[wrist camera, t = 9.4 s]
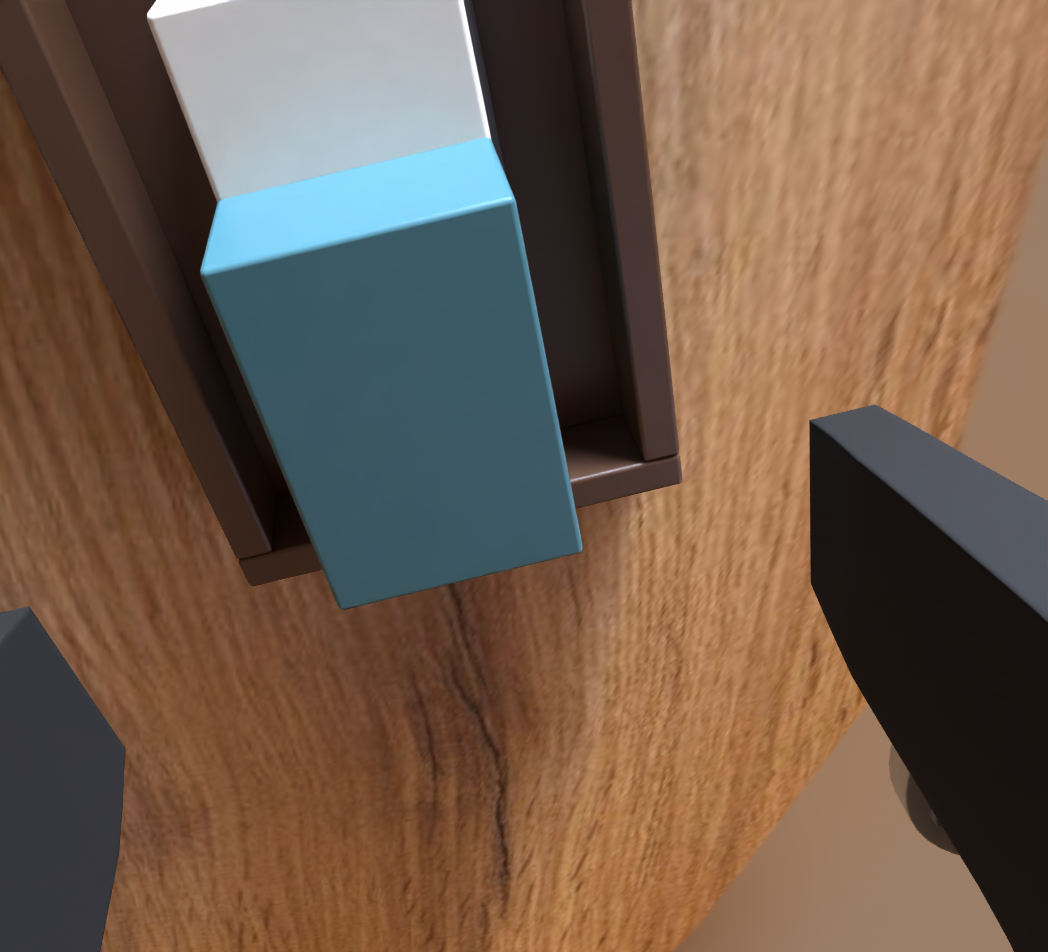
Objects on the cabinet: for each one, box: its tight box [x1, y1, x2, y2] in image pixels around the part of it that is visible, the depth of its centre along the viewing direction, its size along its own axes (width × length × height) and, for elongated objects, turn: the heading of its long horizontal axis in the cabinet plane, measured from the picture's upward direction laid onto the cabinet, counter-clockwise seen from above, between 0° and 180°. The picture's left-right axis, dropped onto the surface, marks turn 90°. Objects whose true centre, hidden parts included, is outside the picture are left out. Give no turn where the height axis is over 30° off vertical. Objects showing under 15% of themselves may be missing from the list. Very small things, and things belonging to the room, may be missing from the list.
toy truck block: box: [147, 0, 583, 610], centre depth 12 cm, size 7×4×4 cm, turn 10°
